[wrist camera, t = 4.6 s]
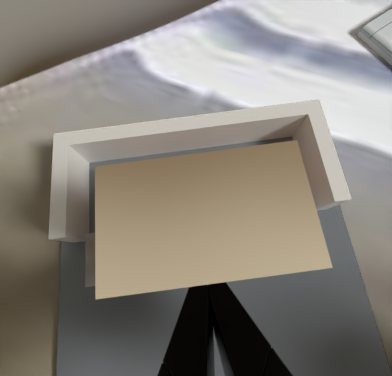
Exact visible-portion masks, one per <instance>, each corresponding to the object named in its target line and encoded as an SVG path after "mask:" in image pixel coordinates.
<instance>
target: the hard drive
mask: <svg viewBox="0 0 392 376" xmlns="http://www.w3.org/2000/svg"><path fill="white" fill-rule="evenodd" d="M357 36H358V37H359V38H360V39H361V40H362V41H364V42H365V43H366V44H367V45H368V46H369V47H370V48H372V49H373V50H374V51H375V52H376V53H377V54H378V55H380V56H381V57H382V58H383V59H384V60H385V61H387V62H388V63H389V64H390V65H391V66H392V8H391V9H390V10H388V11H387V12H385V13H384V14H382V15H380V16H379V17H377V18H375V19H374V20H372V21H371V22H369V23H368V24H366V25H365V26H364V27H362V28H361V30H360V31H359V32H358V34H357Z"/></svg>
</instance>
